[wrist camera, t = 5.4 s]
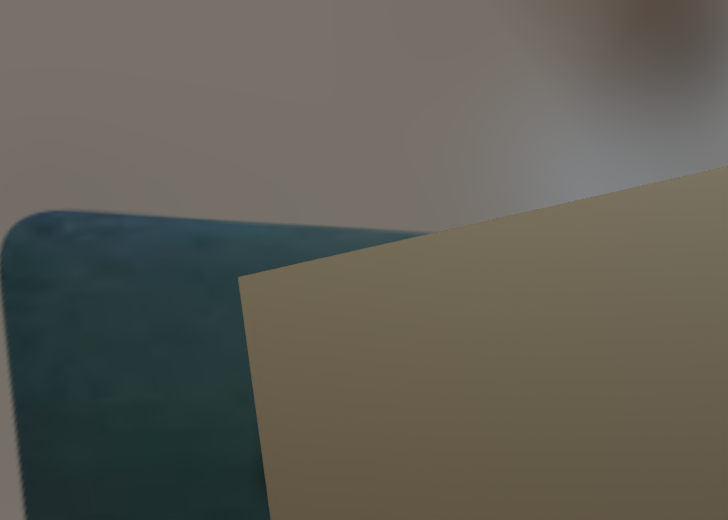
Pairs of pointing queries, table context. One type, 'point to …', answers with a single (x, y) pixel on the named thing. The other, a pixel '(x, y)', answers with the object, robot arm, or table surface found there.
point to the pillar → (505, 367)
